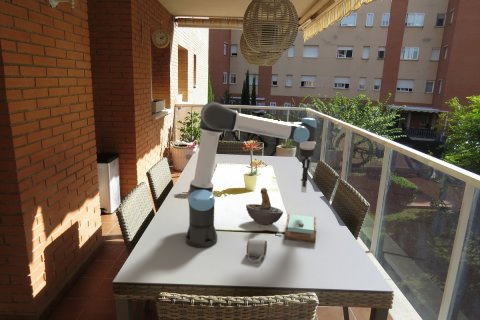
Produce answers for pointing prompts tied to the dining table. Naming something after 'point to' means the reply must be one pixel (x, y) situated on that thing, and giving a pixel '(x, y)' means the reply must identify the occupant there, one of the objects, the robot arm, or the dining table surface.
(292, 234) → the box
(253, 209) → the planter
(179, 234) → the dining table surface
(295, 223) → the lid
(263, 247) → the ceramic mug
